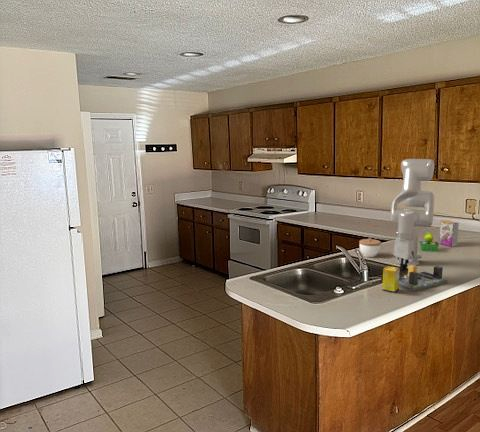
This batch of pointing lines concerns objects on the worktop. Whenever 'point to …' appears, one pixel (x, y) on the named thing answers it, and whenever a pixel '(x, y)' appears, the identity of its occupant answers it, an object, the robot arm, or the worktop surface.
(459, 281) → the worktop surface
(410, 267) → the handle
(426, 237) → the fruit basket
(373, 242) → the lidded bowl
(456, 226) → the candy bar box
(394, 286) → the supplement box
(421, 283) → the compartment sorting tray
